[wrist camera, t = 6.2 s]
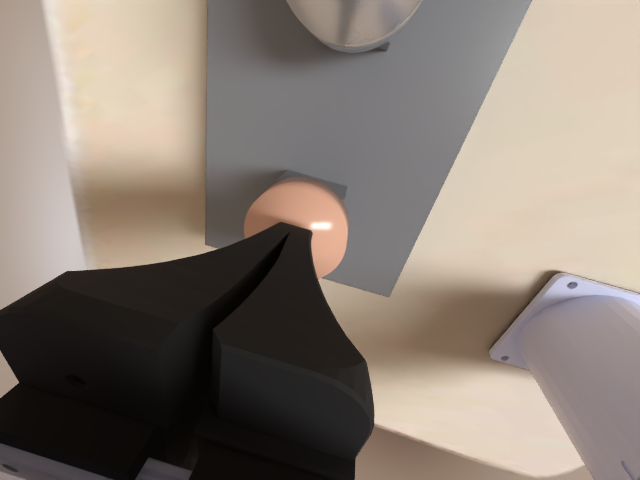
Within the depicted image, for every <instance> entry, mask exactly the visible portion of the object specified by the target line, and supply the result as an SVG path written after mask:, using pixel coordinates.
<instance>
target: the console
mask: <svg viewBox="0 0 640 480" xmlns="http://www.w3.org/2000/svg"><path fill="white" fill-rule="evenodd" d="M531 1H532V0H422V2H421V3H420V5H419V7H418V8H417V10H416V12H415V13H414V15H413V17H412V18H411V19H410V20H409V22H408V23H407V24H406V26H405V27H404V28H403V29H402V30H401V31H400V32H399V33H398V34H397V35H395V36H394V37H393V38H392V39H391V40H389V41H387V42H386V43H384V44H383V45H381V46H379V47H377V48H374V49H372V50H368V51H365V52H358V53H347V52H342V51H338V50H335V49H332V48H330V47H328V46H326V45H324V44H323V43H322V42H320V41H319V40H318V39H317V38H316V37H315V36H314V35H313V34H312V33H311V32H310V31H309V30H308V29H307V28H306V27H305V26H304V25H303V24H302V23H301V22H300V21H299V19H298V18H297V17H296V15H295V14H294V13H293V11H292V9H291V8H290V6H289V4H288V3H287V1H286V0H208V8H207V119H206V231H205V245H208V246H211V247H215V248H218V249H220V248H223V247H226V246H229V245H231V244H234V243H236V242H239V241H241V240H243V239H245V235H244V222H245V218H246V215H247V212H248V210H249V208H250V207H251V205H252V204H253V203H254V202H255V201H256V200H257V199H258V198H259V197H260V196H261V195H262V194H263V193H264V192H265V191H266V190H267V189H268V188H270V187H271V186H272V185H273V184H275V183H276V182H278V181H280V180H283V179H286V178H290V177H307V178H312V179H315V180H318V181H320V182H322V183H324V184H326V185H327V186H329V187H330V188H331V189H332V190H334V191H335V192H336V193H337V195H338V196H339V197H340V198H341V200H342V201H343V203H344V205H345V207H346V210H347V213H348V217H349V231H348V238H347V245H346V250H345V254H344V256H343V258H342V260H341V262H340V263H339V265H338V266H337V267H336V268H335V269H334V270H333V271H332V272H330V273H329V274H327V275H326V276H324V277H322V278H323V279H327V280H330V281H334V282H337V283H341V284H344V285H348V286H351V287H355V288H358V289H362V290H365V291H369V292H372V293H376V294H379V295H383V296H386V297H389V296H390V294H391V292H392V290H393V288H394V286H395V284H396V282H397V280H398V278H399V276H400V273H401V271H402V269H403V267H404V265H405V263H406V261H407V259H408V257H409V255H410V253H411V251H412V249H413V246H414V244H415V242H416V240H417V238H418V236H419V234H420V232H421V230H422V228H423V226H424V224H425V222H426V219H427V217H428V215H429V213H430V211H431V209H432V207H433V205H434V203H435V201H436V199H437V197H438V195H439V192H440V190H441V188H442V186H443V184H444V182H445V180H446V178H447V176H448V174H449V172H450V170H451V168H452V165H453V163H454V161H455V159H456V157H457V155H458V153H459V151H460V149H461V147H462V145H463V143H464V141H465V138H466V136H467V134H468V132H469V130H470V128H471V126H472V124H473V122H474V120H475V118H476V116H477V114H478V111H479V109H480V107H481V105H482V103H483V101H484V99H485V97H486V95H487V93H488V91H489V89H490V87H491V84H492V82H493V80H494V78H495V76H496V74H497V72H498V70H499V68H500V66H501V64H502V62H503V60H504V57H505V55H506V53H507V51H508V49H509V47H510V45H511V43H512V41H513V39H514V37H515V35H516V33H517V30H518V28H519V26H520V24H521V22H522V20H523V18H524V16H525V14H526V12H527V10H528V8H529V6H530V3H531Z"/></svg>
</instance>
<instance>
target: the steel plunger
mask: <svg viewBox="0 0 640 480" xmlns="http://www.w3.org/2000/svg"><path fill="white" fill-rule="evenodd" d="M286 1H287V3H288V4H289V6H290V8H291V9H292V11H293V13H294V14H295V15H296V17H297V18H298V19H299V21H300V22H301V23H302V24H303V25H304V26H305V27H306V28H307V29H308V30H309V31H310V32H311V33H312V34H313V35H314V36H315V37H316V38H317V39H318V40H319V41H320V42H322V43H323V44H324V45H326V46H328V47H330V48H332V49H335V50H338V51H342V52H347V53H358V52H365V51H368V50H372V49H374V48H377V47H379V46H381V45H383V44H384V43H386V42H387V41H389V40H391V39H392V38H393V37H394V36H395V35H397V34H398V33H399V32H400V31H401V30H402V29H403V28H404V27H405V26H406V24H407V23H408V22H409V20H410V19H411V18H412V17H413V15H414V13H415V12H416V10H417V8H418V7H419V5H420V3H421V2H422V0H286Z"/></svg>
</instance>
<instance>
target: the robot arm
mask: <svg viewBox="0 0 640 480" xmlns="http://www.w3.org/2000/svg"><path fill="white" fill-rule="evenodd" d="M312 235H313V233H312V231H311V230H309V229H305V228H302V227H298V226H295V225H291V224H287V223H284V222H279V223H277V224H275V225H273V226H271V227H269V228H267V229H265V230H263V231H261V232H259V233H257V234H255V235H253V236H251V237H248V238H246V239H243V240H241V241H239V242H236V243H234V244H231V245H229V246H226V247H223V248H220V249H217V250H214V251H210V252H207V253H204V254H200V255H196V256H191V257H186V258H182V259H177V260H172V261H168V262H162V263H155V264H149V265H141V266H133V267H124V268H112V269H98V270H84V271H67V272H65V273H63V274H61V275H60V276H58V277H56V278H55V279H53V280H51V281H49V282H48V283H46V284H44V285H43V286H41V287H39V288H37V289H36V290H34V291H32V292H31V293H29V294H27V295H25V296H24V297H22V298H21V299H19V300H17V301H15V302H14V303H12V304H10V305H8V306H7V307H5V308H3V309H1V310H0V351H1V352H2V354H3V356H4V357H5V359H6V361H7V362H8V364H9V366H10V367H11V369H12V371H13V373H14V374H15V376H16V378H17V379H18V381H19V383H18V384H17V385H16V386H15V387H14V388H12V389H11V390H10V391H9V392H8V393H6V394H5V395H4V396H3V397H2V398H0V480H354V479H355V458H356V456H357V455H358V453H359V452H360V450H361V449H362V447H363V446H364V444H365V443H366V441H367V440H368V438H369V436H370V435H371V433H372V430H373V427H374V403H373V395H372V388H371V382H370V377H369V372H368V367H367V363H366V361H365V359H364V358H363V357H362V355H361V354H360V353H359V351H358V350H357V349H356V348H355V346H354V345H353V344H352V342H351V341H350V340H349V339H348V337H347V336H346V335H345V333H344V331H343V330H342V328H341V327H340V325H339V324H338V322H337V320H336V318H335V316H334V315H333V313H332V311H331V309H330V307H329V305H328V303H327V301H326V299H325V297H324V294H323V292H322V290H321V287H320V284H319V281H318V278H317V275H316V271H315V267H314V263H313V257H312V249H311V239H312ZM570 282H572V283H571V284H569V283H570ZM568 284H569V285H568ZM489 355H490V358H491V359H493V360H496V361H499V362H503V363H506V364H509V365H513V366H516V367H520V368H523V369H527V370H530V371H531V373H532V375H533V377H534V378H535V380H536V382H537V383H538V385H539V387H540V389H541V390H542V392H543V394H544V395H545V397H546V399H547V401H548V402H549V404H550V406H551V407H552V409H553V411H554V412H555V414H556V416H557V418H558V419H559V421H560V423H561V424H562V426H563V428H564V430H565V431H566V433H567V435H568V436H569V438H570V440H571V442H572V443H573V445H574V447H575V448H576V450H577V452H578V454H579V455H580V457H581V459H582V460H583V462H584V464H585V466H586V467H587V469H588V471H589V472H590V474H591V476H592V478H593V479H594V480H640V294H639V293H636V292H632V291H629V290H625V289H622V288H618V287H614V286H611V285H607V284H604V283H600V282H596V281H593V280H589V279H586V278H582V277H578V276H575V275H571V274H568V273H558V274H556V275H554V276H553V277H552V278H551V279H550V280H549V281H548V283H547V284H546V285H545V286H544V287H543V288H542V290H541V291H540V292H539V293H538V294H537V295H536V297H535V298H534V299H533V300H532V301H531V302H530V304H529V305H528V306H527V307H526V308H525V309H524V311H523V312H522V313H521V314H520V315H519V317H518V318H517V319H516V320H515V321H514V322H513V324H512V325H511V326H510V327H509V328H508V329H507V331H506V332H505V333H504V334H503V335H502V336H501V338H500V339H499V340H498V341H497V342H496V343H495V345H494V346H493V347H492V348H491V349H490V350H489ZM6 473H7V474H6ZM9 474H10V475H9ZM12 475H13V476H12ZM15 476H16V477H15ZM18 477H19V478H18ZM21 478H22V479H21Z"/></svg>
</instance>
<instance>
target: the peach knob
mask: <svg viewBox="0 0 640 480" xmlns="http://www.w3.org/2000/svg"><path fill="white" fill-rule="evenodd" d="M279 222H284V223H287V224H291V225H295V226H298V227H302V228H305V229H309V230H311V231H312V233H313V235H312V239H311V249H312V257H313V263H314V267H315V271H316V275H317V278H318V279H319V278H322V277H324V276H326V275H327V274H329V273H330V272H332V271H333V270H334V269H335V268H336V267H337V266H338V265H339V263H340V262H341V260H342V258H343V256H344V254H345V250H346V245H347V238H348V231H349V217H348V213H347V210H346V207H345V205H344V203H343V201H342V200H341V198H340V197H339V196H338V195H337V193H336V192H335V191H334V190H332V189H331V188H330V187H329V186H327V185H326V184H324V183H322V182H320V181H318V180H315V179H312V178H307V177H290V178H286V179H283V180H280V181H278V182H276V183H275V184H273V185H272V186H271V187H270V188H268V189H267V190H266V191H265V192H264V193H263V194H262V195H261V196H260V197H259V198H258V199H257V200H256V201H255V202H254V203H253V204H252V205H251V207H250V208H249V210H248V212H247V215H246V218H245V222H244V235H245V239H246V238H248V237H251V236H253V235H255V234H257V233H259V232H261V231H263V230H265V229H267V228H269V227H271V226H273V225H275V224H277V223H279Z"/></svg>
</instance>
